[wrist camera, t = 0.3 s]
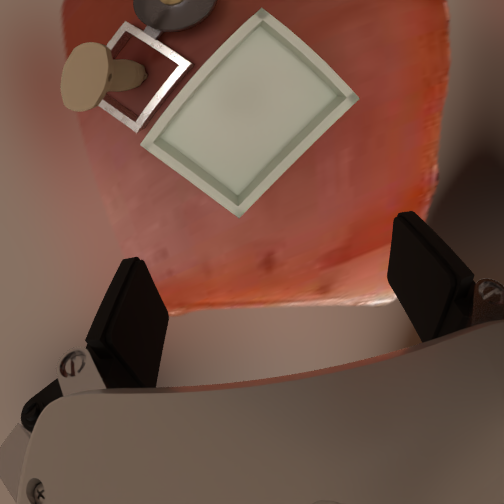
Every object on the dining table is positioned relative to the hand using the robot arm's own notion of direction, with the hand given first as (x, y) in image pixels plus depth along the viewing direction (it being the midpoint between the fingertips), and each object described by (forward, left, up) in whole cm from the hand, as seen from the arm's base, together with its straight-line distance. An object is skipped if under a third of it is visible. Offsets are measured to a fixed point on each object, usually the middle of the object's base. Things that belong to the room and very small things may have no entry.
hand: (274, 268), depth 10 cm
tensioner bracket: (-2, -17, -30) cm, 35 cm away
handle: (+3, -17, -31) cm, 35 cm away
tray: (-2, -2, -30) cm, 30 cm away
